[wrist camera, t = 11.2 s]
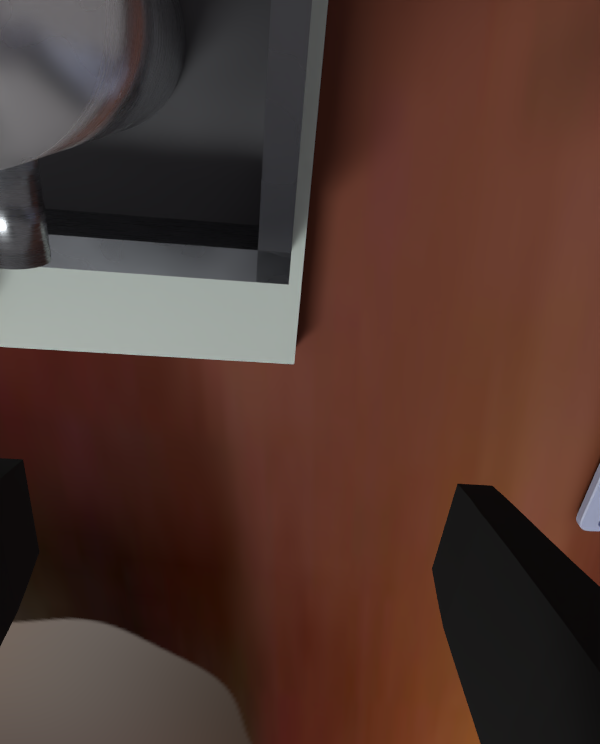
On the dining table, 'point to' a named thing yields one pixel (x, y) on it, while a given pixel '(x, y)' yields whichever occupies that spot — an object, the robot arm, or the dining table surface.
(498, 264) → the dining table surface
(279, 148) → the box
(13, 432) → the dining table surface
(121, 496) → the dining table surface
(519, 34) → the dining table surface
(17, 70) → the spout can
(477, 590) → the robot arm
